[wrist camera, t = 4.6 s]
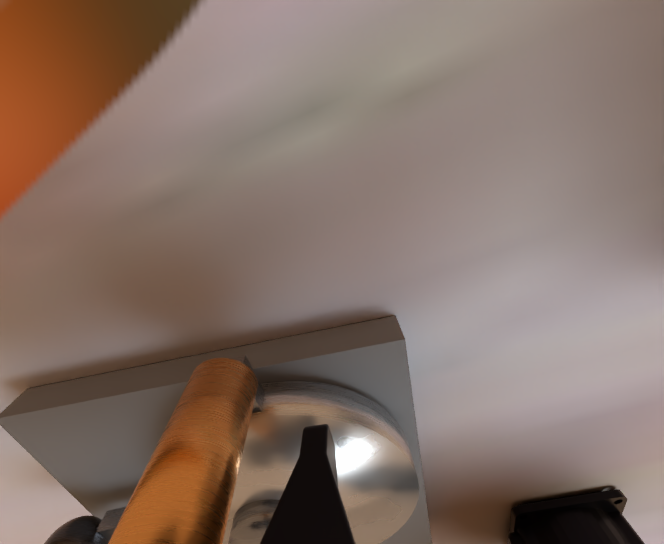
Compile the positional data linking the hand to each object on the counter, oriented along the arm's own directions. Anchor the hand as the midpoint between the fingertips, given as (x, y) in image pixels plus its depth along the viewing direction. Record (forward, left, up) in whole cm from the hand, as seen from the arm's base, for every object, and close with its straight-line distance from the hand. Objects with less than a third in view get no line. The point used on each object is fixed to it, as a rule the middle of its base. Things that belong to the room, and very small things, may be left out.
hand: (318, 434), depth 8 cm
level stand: (+5, +8, -5) cm, 10 cm away
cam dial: (+5, +4, -3) cm, 7 cm away
